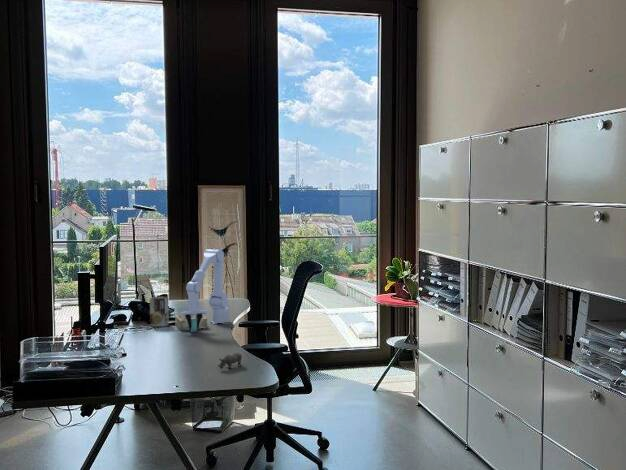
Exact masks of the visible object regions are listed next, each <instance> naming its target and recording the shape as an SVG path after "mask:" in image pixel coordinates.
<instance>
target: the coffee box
mask: <svg viewBox="0 0 626 470" xmlns="http://www.w3.org/2000/svg"><path fill="white" fill-rule="evenodd" d="M169 313H170V312H169V296H152V297H151V298H149V317H150V318H149V319H150V322H149V323H150V325H149V327H166V326H167V327H168V325H169V324H170V323H169V322H170V320H169V319H170V318H169V317H170V316H169Z"/></svg>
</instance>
